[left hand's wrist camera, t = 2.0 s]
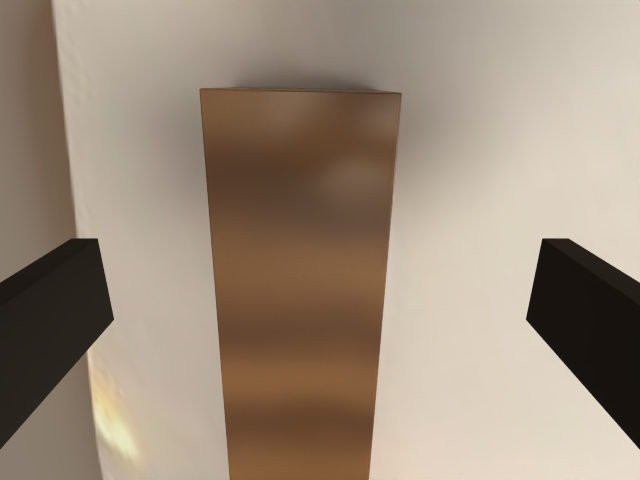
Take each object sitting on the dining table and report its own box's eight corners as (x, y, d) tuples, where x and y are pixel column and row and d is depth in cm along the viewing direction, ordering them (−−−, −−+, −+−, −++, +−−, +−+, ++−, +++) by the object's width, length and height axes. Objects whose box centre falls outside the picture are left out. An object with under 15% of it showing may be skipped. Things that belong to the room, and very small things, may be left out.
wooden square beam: (232, 87, 25) (199, 88, 18) (379, 90, 25) (402, 92, 18) (259, 618, 44) (248, 718, 37) (344, 619, 44) (348, 720, 37)
